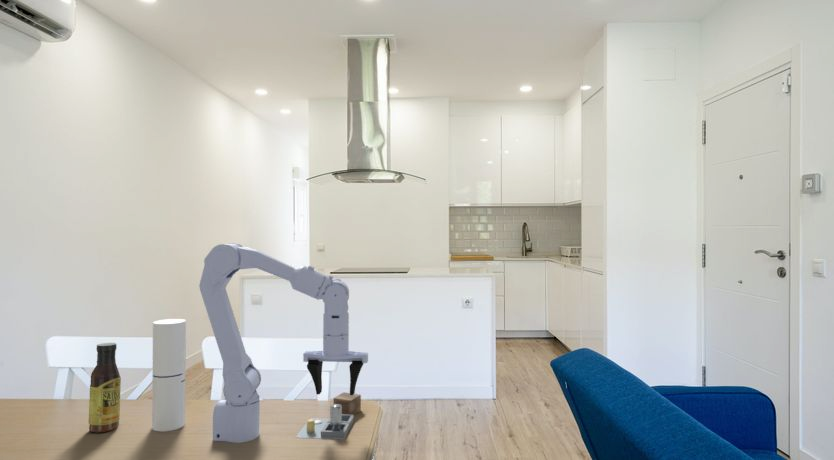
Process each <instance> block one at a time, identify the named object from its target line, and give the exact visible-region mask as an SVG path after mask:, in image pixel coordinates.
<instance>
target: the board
mask: <svg viewBox="0 0 834 460" xmlns="http://www.w3.org/2000/svg"><path fill="white" fill-rule="evenodd" d="M354 421H355V415H353V414H342V425H341V431H330V417H328V418H321V417H319V418H318V417H317V418H316V417H309V419H307V420H306V423H305V424H304V425H303V427H302V428H301V429H300V431H299V432H298V433H297V435H296V436H295V439H319V440H323V439H324V440H345V439H346V437H347V435H348V434H349V431H350V429H351V427H352V426H353V424H354Z"/></svg>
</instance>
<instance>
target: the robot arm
mask: <svg viewBox="0 0 834 460" xmlns="http://www.w3.org/2000/svg"><path fill="white" fill-rule="evenodd" d="M203 263H204V266H203V269H202V274H201V276H200V277H201V278H200V281H199V285H198V287H199V291H200V295H201V297H202V300H203V303H204V306H205V310H206V313H207V316H208V320H209V323H210V325H211V328H212V331H213V334H214V338H215V342H216V345H217V348H218V351H219V354H220V357H221V361H222V378H223V388H222V390H223V396H224V399H219V400H218V401H216V404H215V406H214V408H213V413H212V441H213V442H214V441H216V442H217V441H218V442H229V443H237V444H238V443H246V442H250V441H253V440H255V439H257V438H259V436H260V407H261V406H260V403H261V402H260V395H259V394H258V391H257V389H258V387H259V386H260V385H261V381H262V375H261V373H260V371H259V369H258V368H256V366H255V365H254V364H253V361H252V358H251V356H249V355H248V354H247V352H246V348H245V345H244V343H243V339H242V336H241V333H240V330H239V327H238V323H237V320H236V317H235V314H234V310H233V307H232V305H231V301H230V299H229V295H228V293H227V292H228V291H227V286H228V285H229V283H230V281H231V279H233V276H234V275H235V274H237V272H239V271H240V270H247V269H258V270H260V271H262V272H266V273H268V274H270V275H273V276H276V277H278V278H281V279H283V280H286V281H287V282H288V281H289V283H290V286H291V288H292V289H293V290H294V291H297V292H299V293H302V294H304V295H306V296H308V297H310V298H313V299H316V300H318V301H320V300H322V302H323V303H324V306H323V307H324V311H323V312H324V313H323V314H322V315H323V316H322V317H323V320H322V321H323V322H322V323H323V329H322V332H323V334H322V335H323V336H322V350H315V351H314V350H312V351H310V350H309V351H305V352H303V355H302V358H303V361H302V362H304V363H307V365H306V368H307V370H308V372H309V374H310V376H311V379H312V380H313V384H314V387H315V392H316V395H320V394H322V392H323V382H322V380H323V379H322V375H323V374H322V373H323V363H324V362H333V363H335V362H336V363H350V364H349V365H348V368H349V378H350V379H349V380H350V382H349V383H350V384H349V393H350V395H354V394H356V392H355V391H356V385H357V382H358V378H359V376H360V373H361V371H362V368H363V365H364V364H367V363H368V362H369V353H368V352H361V351H353V350H349V343H350V342H349V340H350V339H349V336H350V335H349V333H350V331H349V330H350V329H349V328H350V327H349V323H350V321H349V319H350V317H349V316H350V314H349V304H348V301H349V299H350V289H349V287H348V285H347V283H346V282H344V281H342V280H341V279H339V278H336V279H334V276H333V275H331V274H329V275H325V274H324V273H321V272H319V271H316V270H315V267H314V266H312V265H308V267H307V266H305V265H301V266H299V267H296V268H295V267H293V266H292V265H289V264H287V263H285V262H283V261H281V260H279V259H277V258H275V257H273V256H270V255H269V254H267V253H265V252H262V251H260V250H258V249H255V248H252V247H249V246H243V245H242V244H240V243H238V242H231V243H221V244H218V245H217V244H216V245H215V246H214V247H213V248H211V250H210V251H209V252H208V254H207V255H206V256H205V257H204V261H203ZM225 398H226V400H225Z"/></svg>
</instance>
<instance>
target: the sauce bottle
mask: <svg viewBox="0 0 834 460" xmlns="http://www.w3.org/2000/svg"><path fill="white" fill-rule="evenodd" d="M116 351H117V343H116V342H105V343H104V342H103V343H98V344H97V345H96V352H97V354H96V356H97V357H96V358H97V359H96V365H95V367H94V368H93V370H92V371H91V373H90V385H89V401H88V403H89V406H88V424H89V427H88V429H89V432H91V433H97V434H98V433H104V432H110V431H112V430H115V429H116V428H118V426H119V425H120V418H121V417H120V414H121V385H122V384H121V380H122V378H121V375H120V372H119V368H118V365H117V361H116Z"/></svg>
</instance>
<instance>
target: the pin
mask: <svg viewBox="0 0 834 460" xmlns="http://www.w3.org/2000/svg"><path fill="white" fill-rule="evenodd" d="M329 408H330V409H329V418H330V431H341V425H342V405H340V404H330V406H329Z"/></svg>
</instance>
